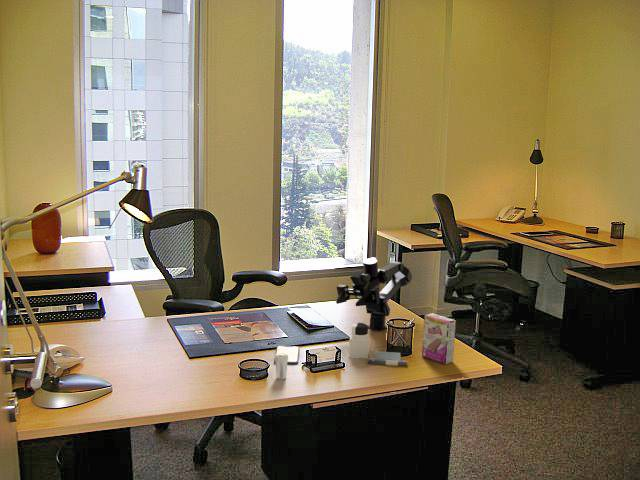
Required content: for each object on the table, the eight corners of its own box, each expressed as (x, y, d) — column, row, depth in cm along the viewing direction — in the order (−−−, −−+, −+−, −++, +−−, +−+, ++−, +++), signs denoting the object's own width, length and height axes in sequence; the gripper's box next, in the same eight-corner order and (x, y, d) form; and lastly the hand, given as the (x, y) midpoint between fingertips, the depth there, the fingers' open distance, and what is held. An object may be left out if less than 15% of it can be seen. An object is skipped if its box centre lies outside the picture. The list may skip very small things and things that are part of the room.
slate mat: (374, 351, 268) (375, 351, 268) (400, 353, 267) (400, 352, 267) (374, 361, 259) (374, 360, 259) (400, 362, 258) (400, 361, 258)
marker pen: (368, 362, 258) (368, 357, 257) (406, 364, 256) (407, 359, 256) (368, 363, 256) (368, 359, 255) (407, 366, 255) (407, 361, 254)
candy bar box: (421, 356, 265) (423, 315, 261) (429, 353, 268) (431, 312, 265) (445, 365, 257) (448, 322, 253) (453, 362, 260) (456, 319, 257)
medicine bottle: (368, 352, 268) (369, 321, 265) (367, 358, 261) (369, 327, 259) (349, 350, 269) (351, 320, 266) (348, 357, 262) (349, 326, 259)
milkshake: (272, 375, 243) (272, 347, 241) (287, 375, 243) (288, 347, 241) (272, 380, 238) (272, 352, 236) (288, 380, 239) (288, 352, 237)
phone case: (298, 366, 253) (299, 350, 269) (298, 362, 253) (299, 346, 269) (273, 365, 253) (276, 349, 269) (273, 361, 253) (276, 345, 269)
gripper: (345, 266, 287) (323, 282, 275) (384, 270, 275) (362, 287, 264) (350, 291, 290) (328, 308, 279) (388, 295, 279) (367, 313, 268)
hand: (346, 303), depth 272 cm, fingers open, 9 cm apart
